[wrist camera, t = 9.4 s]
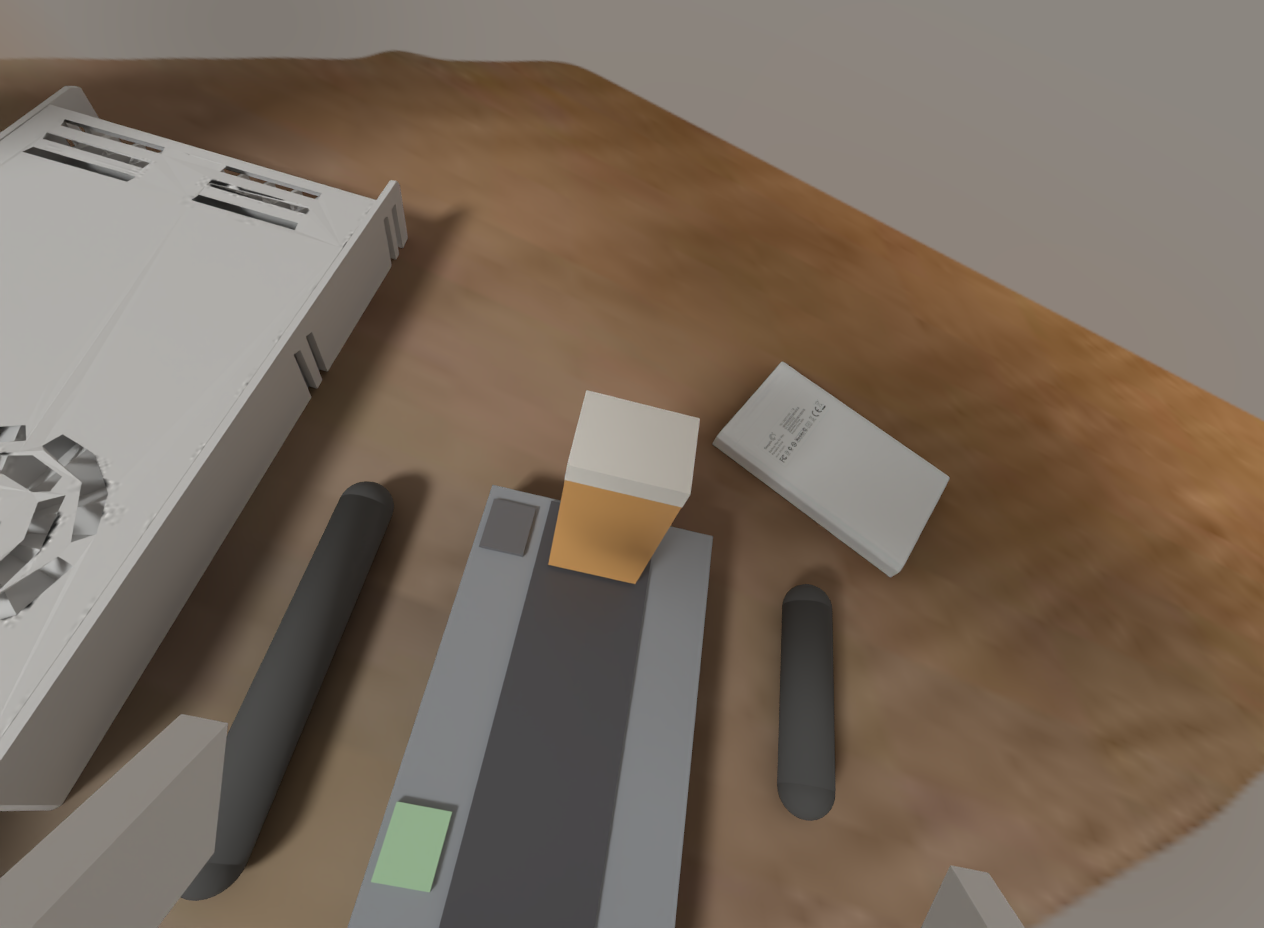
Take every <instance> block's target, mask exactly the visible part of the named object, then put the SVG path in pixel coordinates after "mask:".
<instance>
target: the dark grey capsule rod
mask: <svg viewBox="0 0 1264 928" xmlns="http://www.w3.org/2000/svg"><path fill="white" fill-rule="evenodd" d="M777 787H778V793H779V797H780V799H781V801H782V803H783V805H784V806H785V808H786V809H787V810H788V811H789V812H790V813H792V814H793V815H794V816H796V817H798V818H800V819H803V820H811V821H812V820H817V819H820V818H822V817H824V816H825V815H826V814H827V813H828V812H829V811H830V810H831V808H832V806H833V804H834V800H835V742H834V682H833V623H832V604H831V602H830V599H829V598H828V596H827V595H826V593H825V592H824V591H822V590H821V589H820V588H818V587H816V586H813V585H809V584H803V585H798V586H796V587H794V588H792V589H791V590H790V591H789V592H788V593H787V594H786V596H785V598H784V601H783V605H782V636H781V671H780V707H779V742H778V777H777Z"/></svg>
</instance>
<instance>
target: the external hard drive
mask: <svg viewBox="0 0 1264 928" xmlns="http://www.w3.org/2000/svg"><path fill="white" fill-rule="evenodd" d="M713 445H714V446H715V447H717V448H718V449H719V450H721V451H722V452H723V453H725V454H726V455H727V456H729V457H730V458H731V459H733V460H734V461H735V462H737V463H738V464H739V465H741V466H742V467H743V468H745V469H746V470H747V471H749V472H750V473H751V474H753V475H754V476H755V477H757V478H758V479H759V480H761V481H762V482H763V483H765V484H766V485H767V486H769V487H770V488H771V489H773V490H774V491H775V492H777V493H778V494H779V495H781V496H782V497H783V498H785V499H786V500H787V501H789V502H790V503H791V504H793V505H794V506H796V507H797V508H798V509H799V510H801V511H802V512H803V513H805V514H806V515H808V516H809V517H810V518H812V519H813V520H814V521H816V522H817V523H818V524H820V525H821V526H822V527H824V528H825V529H826V530H828V531H829V532H830V533H832V534H833V535H834V536H835V537H837V538H838V539H839V540H841V541H842V542H844V543H845V544H846V545H848V546H849V547H850V548H852V549H853V550H854V551H856V552H857V553H858V554H860V555H861V556H862V557H864V558H865V559H866V560H868V561H869V562H870V563H872V564H873V565H874V566H876V567H877V568H878V569H880V570H881V571H882V572H884V573H885V574H887V575H888V576H889V577H892V576H894V575H896V574H898V573H899V572H900V571H901V569H902V568H903V566H904V565H905V563H906V561H907V559H908V557H909V555H910V553H911V552H912V549H913V548H914V546H915V544H916V542H917V540H918V538H919V536H920V534H921V532H922V530H923V529H924V527H925V525H926V523H927V521H928V519H929V517H930V515H931V514H932V512H933V510H934V508H935V506H936V504H937V502H938V500H939V499H940V496H941V495H942V493H943V491H944V489H945V487H946V485H947V483H948V481H949V476H947V475H946V474H945V473H943V472H942V471H940V470H939V469H937V468H936V467H935V466H933V465H932V464H930V463H929V462H927V461H926V460H924V459H923V458H922V457H920V456H919V455H917V454H916V453H914V452H913V451H911V450H910V449H908V448H907V447H906V446H904V445H903V444H901V443H900V442H898V441H897V440H895V439H894V438H893V437H891V436H890V435H888V434H887V433H885V432H884V431H882V430H881V429H880V428H878V427H877V426H875V425H874V424H872V423H871V422H869V421H868V420H867V419H865V418H864V417H862V416H861V415H859V414H858V413H856V412H855V411H854V410H852V409H851V408H849V407H848V406H846V405H845V404H843V403H842V402H841V401H839V400H838V399H836V398H835V397H833V396H832V395H831V394H829V393H828V392H826V391H825V390H823V389H822V388H820V387H819V386H818V385H816V384H815V383H813V382H812V381H810V380H809V379H807V378H806V377H804V376H803V375H801V374H800V373H799V372H797V371H796V370H795V369H793V368H792V367H790V366H789V365H787V364H786V363H784V362H783V361H782V362H781V363H780V364H779V365H778V366H777V367H776V369H775V370H774V371H773V372H772V373H771V374H770V375H769V377H768V378H767V379H766V380H765V381H764V382H763V384H762V385H761V386H760V387H759V388H758V389H757V391H756V392H755V393H754V394H753V395H752V396H751V397H750V398H749V400H748V401H747V402H746V403H745V404H744V405H743V406H742V407H741V409H740V410H739V411H738V412H737V413H736V414H735V415H734V417H733V418H732V419H731V420H730V421H729V422H728V423H727V425H726V426H725V427H724V428H723V429H722V430H721V431H720V433H719V434H718V435H717V437H716V438H715V440H714V442H713Z"/></svg>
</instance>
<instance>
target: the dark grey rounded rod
mask: <svg viewBox="0 0 1264 928" xmlns="http://www.w3.org/2000/svg"><path fill="white" fill-rule="evenodd" d="M393 510H394V503H393V499H392V496H391V494H390V493H389V492H388V490H387V489H386V488H384V487H383V486H382V485H380V484H378V483H374V482H359V483H356V484H354V485H352V486H350V487H349V488H348V489H347V490H346V491H345V492H344V493H343V494H342V496H341V497H340V499H339V502H338V504H337V506H336V508H335V510H334V512H333V514H332V516H331V518H330V520H329V523H328V525H327V527H326V529H325V531H324V533H323V535H322V537H321V539H320V541H319V544H318V546H317V548H316V550H315V552H314V554H313V556H312V558H311V560H310V562H309V565H308V567H307V569H306V571H305V573H304V575H303V577H302V579H301V581H300V583H299V586H298V588H297V590H296V592H295V594H294V596H293V598H292V600H291V602H290V604H289V607H288V609H287V611H286V613H285V615H284V617H283V619H282V621H281V623H280V625H279V627H278V630H277V632H276V634H275V636H274V638H273V640H272V642H271V644H270V646H269V648H268V651H267V653H266V655H265V657H264V659H263V661H262V663H261V665H260V667H259V669H258V672H257V674H256V676H255V678H254V680H253V682H252V684H251V686H250V688H249V690H248V693H247V695H246V697H245V699H244V701H243V703H242V705H241V707H240V709H239V711H238V714H237V716H236V718H235V720H234V722H233V724H232V726H231V728H230V730H229V732H228V735H227V737H226V746H225V756H224V765H223V775H222V784H221V794H220V803H219V812H218V822H217V831H216V841H215V850H214V853H213V855H212V856H211V857H210V859H209V860H208V861H207V863H206V864H205V865H204V867H203V868H202V869H201V870H200V872H199V873H198V874H197V876H196V877H195V878H194V880H193V881H192V882H191V884H190V885H189V886H188V888H187V889H186V890H185V892H184V893H183V894H182V896H181V898H184V899H186V900H193V901H197V900H204V899H208V898H211V897H213V896H216V895H217V894H219V893H221V892H223V891H224V890H226V889H227V888H228V887H229V886H231V885H232V884H233V883H234V882H235V881H236V880H237V878H238V877H239V876H240V874H241V873H242V872H243V870H244V868H245V866H246V864H247V862H248V859H249V857H250V855H251V852H252V850H253V847H254V845H255V843H256V840H257V838H258V835H259V833H260V831H261V828H262V826H263V823H264V821H265V819H266V816H267V814H268V812H269V809H270V807H271V804H272V802H273V800H274V797H275V795H276V792H277V790H278V788H279V785H280V783H281V780H282V778H283V776H284V773H285V771H286V768H287V766H288V764H289V761H290V759H291V756H292V754H293V752H294V749H295V747H296V744H297V742H298V740H299V737H300V735H301V732H302V730H303V728H304V725H305V723H306V720H307V718H308V716H309V713H310V711H311V708H312V706H313V704H314V701H315V699H316V696H317V694H318V692H319V689H320V687H321V684H322V682H323V680H324V677H325V675H326V672H327V670H328V668H329V665H330V663H331V660H332V658H333V656H334V653H335V651H336V648H337V646H338V644H339V641H340V639H341V636H342V634H343V632H344V629H345V627H346V624H347V622H348V620H349V617H350V615H351V613H352V610H353V608H354V605H355V603H356V601H357V598H358V596H359V593H360V591H361V589H362V586H363V584H364V581H365V579H366V577H367V574H368V572H369V569H370V567H371V565H372V562H373V560H374V557H375V555H376V553H377V550H378V548H379V545H380V543H381V541H382V538H383V536H384V533H385V531H386V529H387V526H388V524H389V521H390V519H391V517H392V514H393Z"/></svg>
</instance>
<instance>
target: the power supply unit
mask: <svg viewBox="0 0 1264 928" xmlns="http://www.w3.org/2000/svg"><path fill="white" fill-rule="evenodd" d="M61 125H62V126H61ZM79 127H83V128H84V130H85V132H86V133H85V132H82V131H81V130H80V128H79ZM65 138H66V139H70V140H71V141H72V142H73V144H74V145H75V146H73V147H71V146H70V145H69V143H68V142H67V140H66V139H65ZM119 138H120V139H124V140H127V141H131V142H134V143H135V144H133V145H128V144H124V143H121V141H120V140H119ZM145 146H148V147H151V148H155V149H158V150H161V152H159V153H156V152H153V151H149V150H147V149H146V147H145ZM223 169H227V170H230V171H234V172H237V173H240V175H238V176H234V175H230V174H227V173H225V172H224V170H223ZM249 176H251V177H254V178H258V179H261V180H264V181H267V182H265V183H264V184H261V183H258V182H254V181H251V180H250V178H249ZM274 183H275V184H278V185H282V186H285V187H288V188H292V189H294V190H293V191H291V192H289V191H285V190H282V189H278V188H276V187H275V184H274ZM301 191H302V192H306V193H309V194H312V195H316V196H318V197H317V198H315V199H313V198H309V197H306V196H303V195H302V192H301ZM407 238H408V236H407V229H406V223H405V216H404V209H403V203H402V196H401V189H400V185H399V183H398V182H397V181H392V180H390V181H389V183H388V184H387V186H386V187H385V189H384V190H383V192H382V193H381V194H380V196H379V197H378V199H377V200H374V199H370V198H367V197H364V196H360V195H357V194H353V193H350V192H347V191H343V190H340V189H336V188H333V187H330V186H326V185H323V184H319V183H316V182H313V181H309V180H306V179H302V178H299V177H296V176H292V175H289V174H285V173H282V172H279V171H275V170H272V169H268V168H265V167H262V166H258V165H255V164H251V163H248V162H244V161H241V160H238V159H234V158H231V157H227V156H224V155H221V154H217V153H214V152H210V151H207V150H204V149H200V148H197V147H193V146H190V145H187V144H183V143H180V142H176V141H173V140H170V139H166V138H163V137H159V136H156V135H153V134H149V133H146V132H142V131H139V130H136V129H132V128H129V127H125V126H122V125H119V124H115V123H112V122H108V121H105V120H102V119H99V117H98V116H97V114H96V112H95V111H94V109H93V107H92V106H91V104H90V102H89V101H88V99H87V97H86V95H85V94H84V92H83V90H82V89H81V88H80V87H77V86H64V87H63V88H62V89H60V90H59V91H57V92H56V93H55V94H53V95H52V96H50V97H49V98H48V99H46V100H45V101H44V102H42V103H41V104H39V105H38V106H37V107H35V108H34V109H33V110H31V111H30V112H28V113H27V114H26V115H24V116H23V117H22V118H20V119H19V120H17V121H16V122H15V123H13V124H12V125H10V126H9V127H8V128H6V129H5V130H4V131H2V132H1V133H0V811H37V810H53V809H55V808H57V807H59V806H61V805H62V804H63V802H64V801H65V799H66V797H67V796H68V794H69V792H70V791H71V789H72V788H73V786H74V784H75V783H76V781H77V779H78V778H79V776H80V775H81V773H82V771H83V770H84V768H85V766H86V765H87V763H88V762H89V760H90V758H91V757H92V755H93V753H94V752H95V750H96V749H97V747H98V745H99V744H100V742H101V740H102V739H103V737H104V735H105V734H106V732H107V731H108V729H109V727H110V726H111V724H112V722H113V721H114V719H115V717H116V716H117V714H118V713H119V711H120V709H121V708H122V706H123V704H124V703H125V701H126V700H127V698H128V696H129V695H130V693H131V691H132V690H133V688H134V686H135V685H136V683H137V682H138V680H139V678H140V677H141V675H142V673H143V672H144V670H145V668H146V667H147V665H148V664H149V662H150V660H151V659H152V657H153V655H154V654H155V652H156V650H157V649H158V647H159V646H160V644H161V642H162V641H163V639H164V637H165V636H166V634H167V633H168V631H169V629H170V628H171V626H172V624H173V623H174V621H175V619H176V618H177V616H178V615H179V613H180V611H181V610H182V608H183V606H184V605H185V603H186V601H187V600H188V598H189V597H190V595H191V593H192V592H193V590H194V588H195V587H196V585H197V584H198V582H199V580H200V579H201V577H202V575H203V574H204V572H205V570H206V569H207V567H208V566H209V564H210V562H211V561H212V559H213V557H214V556H215V554H216V552H217V551H218V549H219V548H220V546H221V544H222V543H223V541H224V539H225V538H226V536H227V534H228V533H229V531H230V530H231V528H232V526H233V525H234V523H235V521H236V520H237V518H238V517H239V515H240V513H241V512H242V510H243V508H244V507H245V505H246V503H247V502H248V500H249V499H250V497H251V495H252V494H253V492H254V490H255V489H256V487H257V485H258V484H259V482H260V481H261V479H262V477H263V476H264V474H265V472H266V471H267V469H268V468H269V466H270V464H271V463H272V461H273V459H274V458H275V456H276V454H277V453H278V451H279V450H280V448H281V446H282V445H283V443H284V441H285V440H286V438H287V436H288V435H289V433H290V432H291V430H292V428H293V427H294V425H295V423H296V422H297V420H298V418H299V417H300V415H301V414H302V412H303V410H304V409H305V407H306V405H307V404H308V402H309V401H310V399H311V395H310V393H309V390H308V387H309V386H310V387H313V388H318V387H319V385H320V383H321V381H322V378H321V375H320V373H319V370H324V371H327V372H328V370H329V369H330V367H331V365H332V364H333V362H334V360H335V359H336V357H337V355H338V354H339V352H340V351H341V349H342V347H343V346H344V344H345V342H346V341H347V339H348V337H349V336H350V334H351V332H352V331H353V329H354V327H355V326H356V324H357V322H358V321H359V319H360V318H361V316H362V314H363V313H364V311H365V309H366V308H367V306H368V304H369V303H370V301H371V299H372V298H373V296H374V294H375V293H376V291H377V289H378V288H379V286H380V285H381V283H382V281H383V280H384V278H385V276H386V275H387V273H388V271H389V270H390V268H391V266H392V265H391V259H390V258H392V259H395V260H396V259H397V257H398V256H399V251H398V247H401V248H403V247H404V245H405V243H406V241H407Z"/></svg>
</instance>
